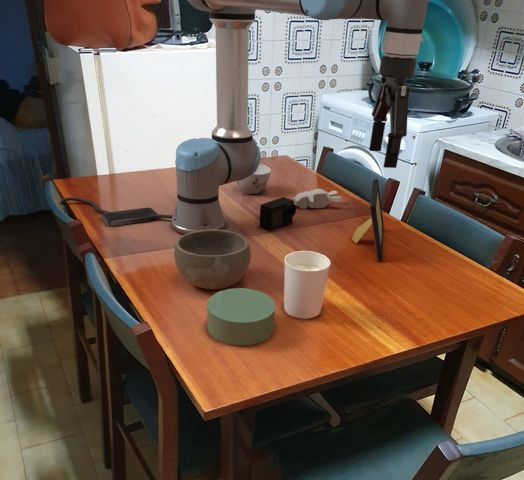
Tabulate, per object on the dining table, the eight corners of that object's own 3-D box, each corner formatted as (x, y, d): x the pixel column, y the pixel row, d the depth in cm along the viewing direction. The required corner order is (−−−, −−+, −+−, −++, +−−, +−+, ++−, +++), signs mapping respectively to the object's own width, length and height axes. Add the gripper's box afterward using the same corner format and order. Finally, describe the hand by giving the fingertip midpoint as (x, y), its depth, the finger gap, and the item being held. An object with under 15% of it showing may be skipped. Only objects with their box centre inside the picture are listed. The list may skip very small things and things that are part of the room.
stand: (195, 334, 112) (194, 311, 109) (225, 304, 122) (225, 282, 119) (258, 352, 108) (259, 329, 104) (283, 319, 118) (285, 297, 115)
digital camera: (272, 233, 157) (274, 209, 153) (258, 227, 160) (260, 204, 156) (295, 224, 164) (297, 201, 160) (281, 218, 167) (283, 196, 163)
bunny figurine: (291, 189, 178) (335, 183, 180) (291, 204, 181) (335, 198, 183) (298, 199, 170) (344, 193, 172) (298, 215, 173) (344, 208, 175)
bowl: (181, 262, 139) (180, 224, 133) (251, 266, 139) (252, 229, 133) (169, 295, 125) (167, 254, 119) (247, 299, 125) (249, 259, 119)
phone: (158, 216, 160) (107, 222, 154) (159, 219, 161) (108, 226, 155) (150, 207, 166) (100, 213, 160) (150, 210, 167) (101, 216, 160)
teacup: (275, 195, 184) (277, 171, 179) (241, 199, 179) (241, 174, 175) (258, 182, 195) (259, 159, 191) (225, 184, 191) (225, 161, 186)
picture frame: (382, 261, 145) (385, 206, 137) (348, 260, 147) (349, 206, 139) (383, 229, 164) (387, 179, 156) (353, 229, 166) (355, 179, 157)
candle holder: (328, 303, 125) (335, 255, 118) (318, 324, 117) (324, 274, 110) (287, 295, 127) (291, 247, 121) (274, 315, 120) (278, 265, 113)
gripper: (436, 64, 105) (413, 175, 117) (400, 49, 125) (384, 145, 138) (398, 63, 104) (379, 174, 116) (368, 47, 125) (354, 144, 137)
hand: (382, 158), depth 127 cm, fingers open, 13 cm apart
